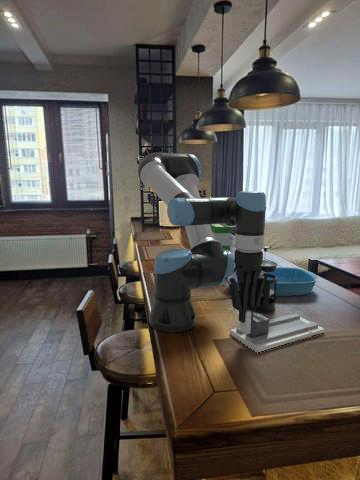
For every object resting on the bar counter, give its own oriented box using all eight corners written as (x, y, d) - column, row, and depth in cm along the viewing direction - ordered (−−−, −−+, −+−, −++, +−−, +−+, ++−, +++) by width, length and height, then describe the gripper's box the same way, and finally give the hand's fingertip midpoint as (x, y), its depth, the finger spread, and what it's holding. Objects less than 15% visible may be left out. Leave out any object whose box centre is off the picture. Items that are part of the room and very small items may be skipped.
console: (256, 353, 84) (257, 344, 84) (230, 334, 95) (230, 326, 94) (324, 333, 96) (324, 325, 96) (293, 318, 106) (294, 311, 106)
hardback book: (205, 266, 170) (206, 222, 165) (218, 266, 171) (220, 222, 166) (213, 276, 153) (215, 227, 148) (228, 275, 154) (230, 226, 149)
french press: (246, 302, 120) (249, 242, 116) (271, 302, 120) (275, 243, 116) (251, 314, 109) (255, 249, 105) (279, 315, 108) (284, 250, 104)
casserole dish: (233, 299, 124) (233, 281, 123) (224, 281, 146) (224, 266, 145) (326, 299, 125) (327, 281, 123) (303, 281, 147) (304, 266, 145)
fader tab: (256, 338, 89) (257, 319, 88) (246, 332, 92) (247, 313, 91) (268, 335, 91) (269, 316, 90) (257, 329, 94) (258, 311, 93)
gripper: (237, 254, 79) (233, 342, 83) (277, 250, 84) (272, 332, 88) (220, 249, 85) (218, 330, 89) (258, 245, 91) (254, 322, 95)
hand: (245, 331), depth 89 cm, fingers closed
